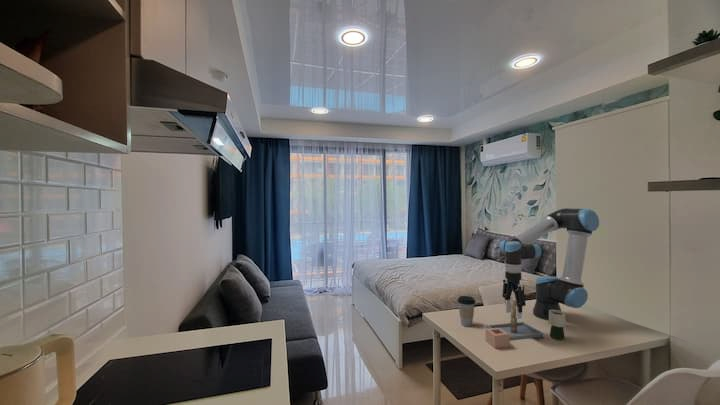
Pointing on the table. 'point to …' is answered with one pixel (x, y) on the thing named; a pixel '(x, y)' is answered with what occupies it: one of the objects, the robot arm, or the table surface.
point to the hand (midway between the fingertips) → (513, 315)
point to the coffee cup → (466, 310)
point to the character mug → (557, 323)
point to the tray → (519, 330)
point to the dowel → (513, 317)
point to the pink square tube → (497, 338)
